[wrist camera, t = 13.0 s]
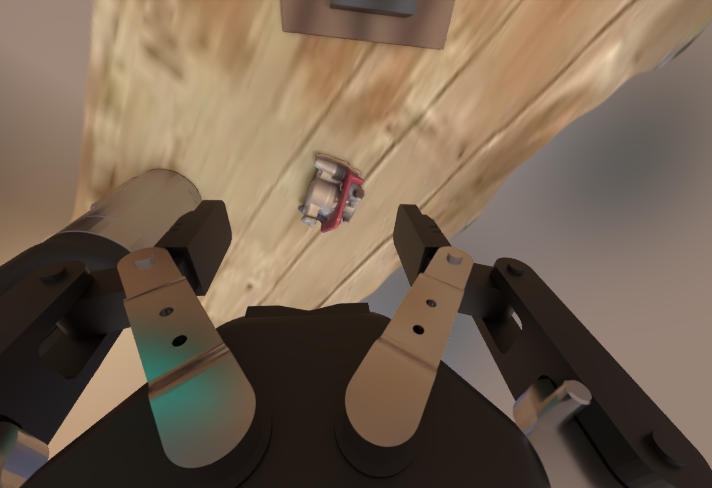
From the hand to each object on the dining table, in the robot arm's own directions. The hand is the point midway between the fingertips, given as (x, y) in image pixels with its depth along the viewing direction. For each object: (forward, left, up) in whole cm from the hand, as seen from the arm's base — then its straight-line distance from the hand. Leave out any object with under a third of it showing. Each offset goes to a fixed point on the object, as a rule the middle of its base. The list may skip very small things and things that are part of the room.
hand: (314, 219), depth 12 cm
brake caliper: (+2, -13, -31) cm, 34 cm away
